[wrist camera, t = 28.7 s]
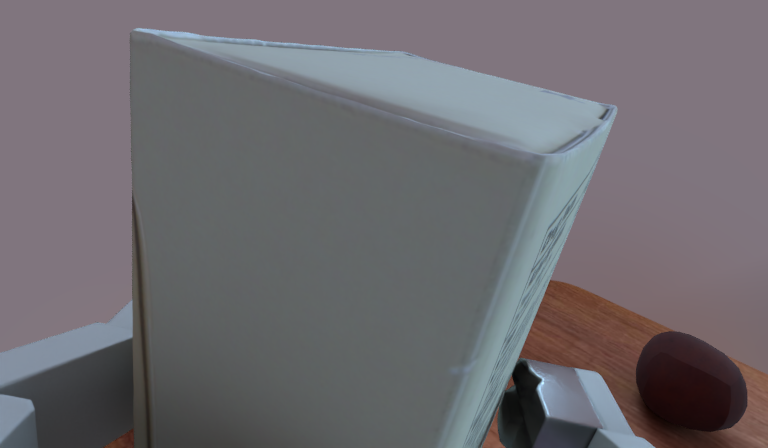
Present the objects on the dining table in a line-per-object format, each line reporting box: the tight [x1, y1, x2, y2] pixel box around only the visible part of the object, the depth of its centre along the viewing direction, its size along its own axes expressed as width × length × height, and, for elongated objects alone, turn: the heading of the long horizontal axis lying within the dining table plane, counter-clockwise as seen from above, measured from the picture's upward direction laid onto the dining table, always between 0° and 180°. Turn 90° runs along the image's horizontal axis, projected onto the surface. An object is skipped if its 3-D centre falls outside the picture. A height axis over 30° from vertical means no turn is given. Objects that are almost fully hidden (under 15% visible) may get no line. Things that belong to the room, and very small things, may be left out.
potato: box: [636, 331, 747, 432], centre depth 36 cm, size 7×8×6 cm
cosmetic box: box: [130, 28, 617, 448], centre depth 9 cm, size 6×4×12 cm
